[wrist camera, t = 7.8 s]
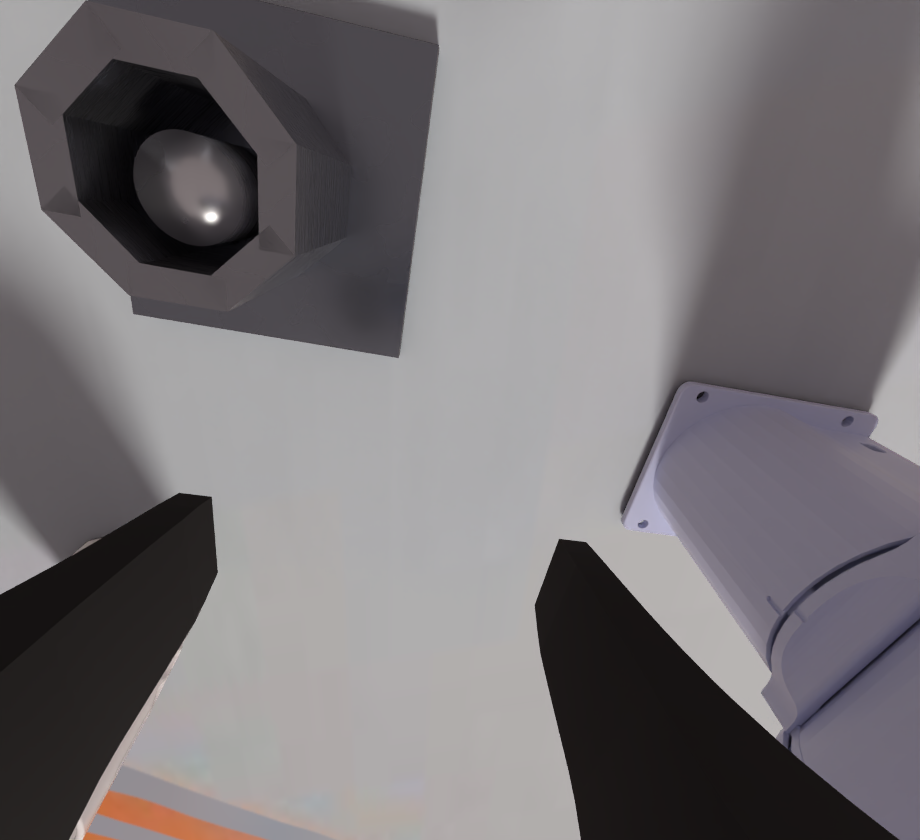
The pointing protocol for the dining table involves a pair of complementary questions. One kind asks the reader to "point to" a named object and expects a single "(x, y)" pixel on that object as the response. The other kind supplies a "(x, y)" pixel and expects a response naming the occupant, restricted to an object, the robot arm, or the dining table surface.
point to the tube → (184, 108)
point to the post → (356, 134)
